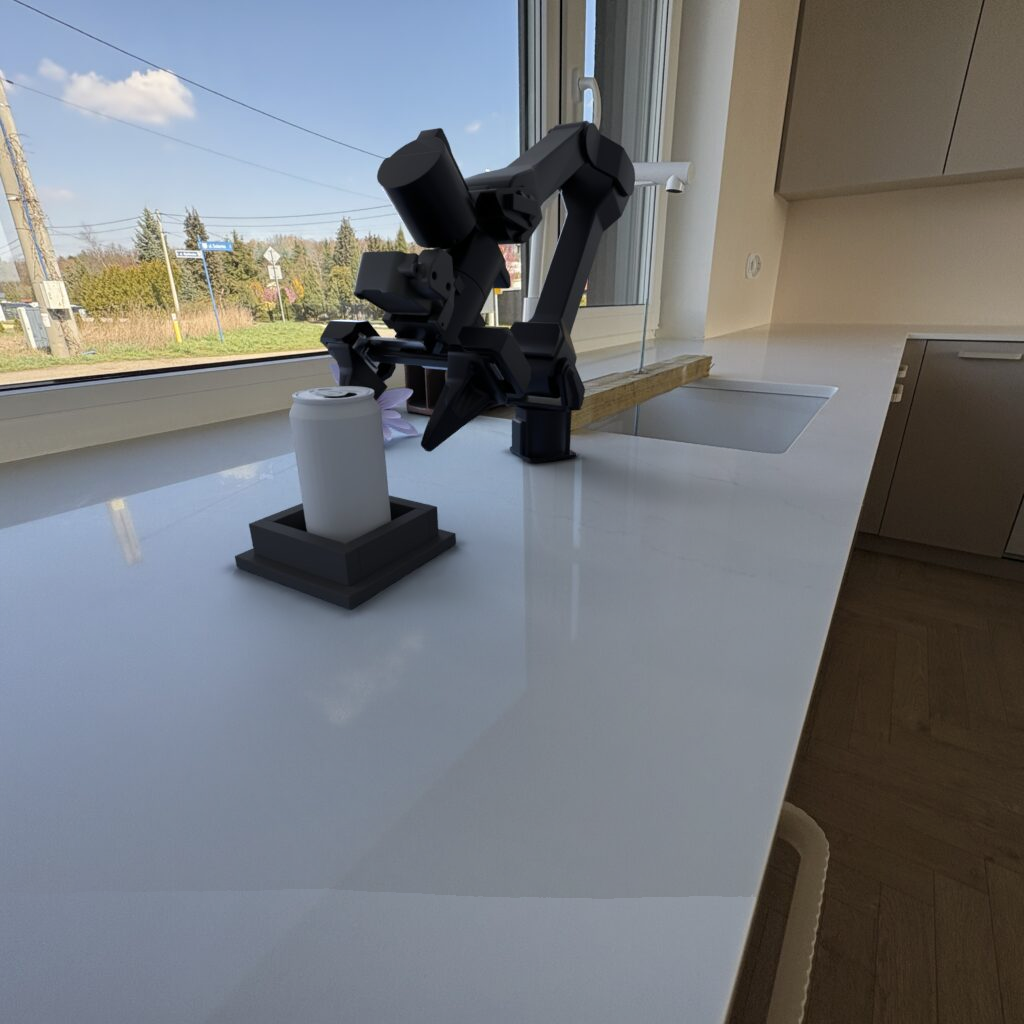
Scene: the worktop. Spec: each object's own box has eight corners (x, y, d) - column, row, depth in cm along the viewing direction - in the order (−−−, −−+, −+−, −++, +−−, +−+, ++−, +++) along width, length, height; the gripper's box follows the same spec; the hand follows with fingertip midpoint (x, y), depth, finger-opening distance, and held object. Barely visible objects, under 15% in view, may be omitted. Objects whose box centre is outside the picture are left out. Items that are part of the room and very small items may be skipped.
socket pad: (351, 515, 53) (347, 480, 52) (456, 543, 47) (454, 504, 46) (236, 567, 43) (227, 525, 42) (350, 610, 38) (344, 563, 36)
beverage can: (343, 569, 41) (322, 403, 36) (292, 545, 44) (267, 392, 40) (409, 540, 45) (398, 389, 41) (358, 520, 49) (343, 380, 45)
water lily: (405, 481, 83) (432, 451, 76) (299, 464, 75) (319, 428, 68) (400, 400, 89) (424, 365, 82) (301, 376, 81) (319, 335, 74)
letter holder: (405, 412, 95) (399, 323, 90) (481, 394, 110) (480, 318, 104) (449, 420, 89) (445, 326, 84) (523, 400, 104) (523, 320, 99)
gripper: (322, 219, 48) (229, 369, 43) (513, 204, 39) (421, 391, 34) (392, 313, 57) (322, 445, 52) (559, 318, 48) (492, 477, 44)
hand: (379, 440), depth 46 cm, fingers open, 9 cm apart
